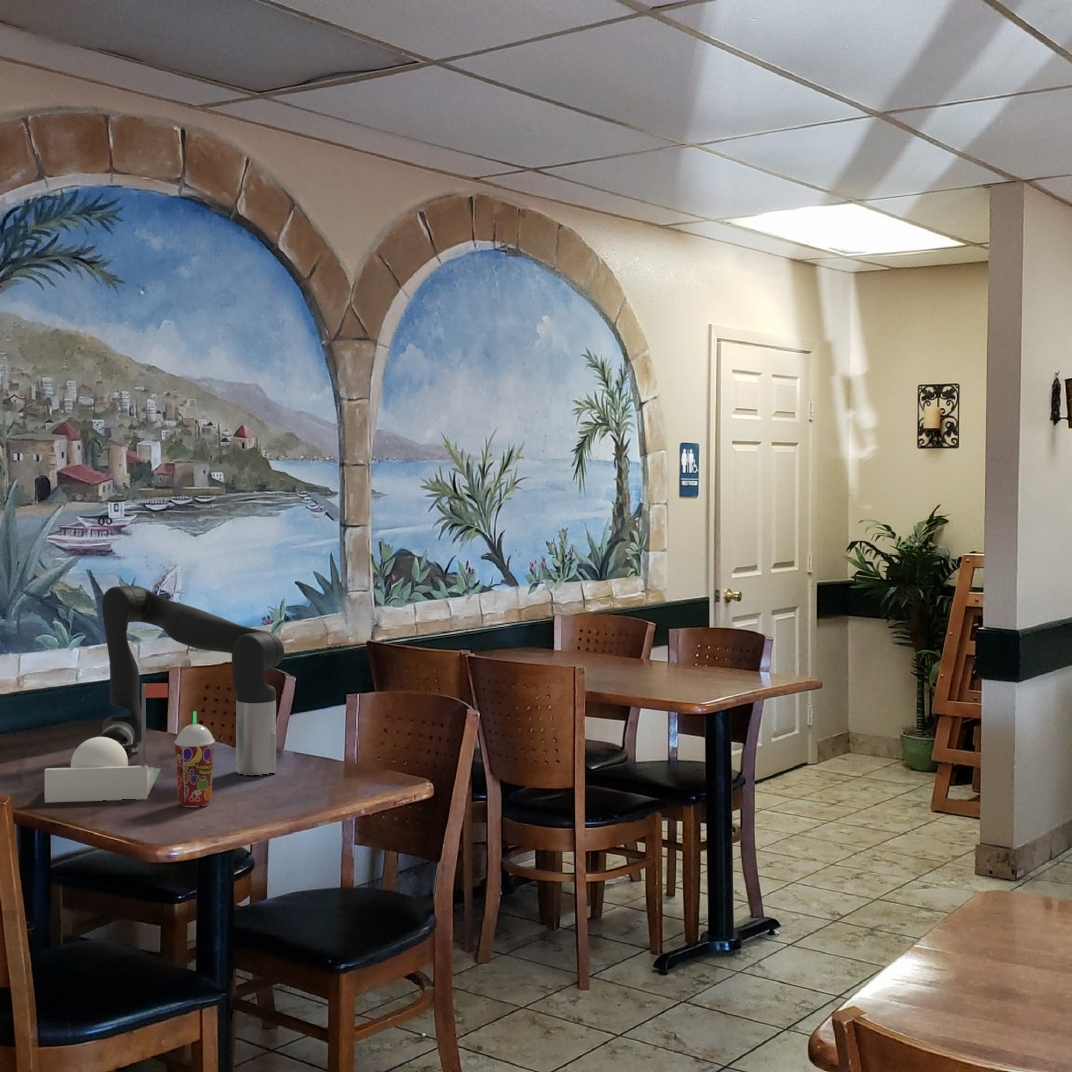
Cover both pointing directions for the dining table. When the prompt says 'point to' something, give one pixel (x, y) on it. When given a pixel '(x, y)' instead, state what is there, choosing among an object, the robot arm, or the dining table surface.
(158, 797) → the dining table surface
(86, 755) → the ball
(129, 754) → the robot arm
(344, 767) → the dining table surface
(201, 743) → the smoothie
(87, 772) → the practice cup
